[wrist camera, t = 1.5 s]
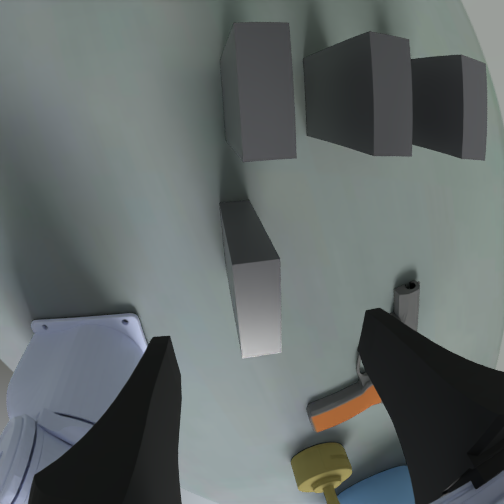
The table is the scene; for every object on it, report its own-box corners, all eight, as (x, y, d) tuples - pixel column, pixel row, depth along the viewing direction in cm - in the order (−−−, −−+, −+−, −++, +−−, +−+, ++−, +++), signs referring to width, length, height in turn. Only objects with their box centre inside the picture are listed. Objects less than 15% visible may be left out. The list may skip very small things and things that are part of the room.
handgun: (281, 326, 24) (414, 276, 24) (310, 424, 31) (405, 385, 31) (287, 340, 23) (425, 286, 23) (314, 436, 30) (412, 395, 30)
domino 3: (306, 135, 18) (373, 155, 11) (303, 58, 16) (369, 31, 9) (334, 135, 18) (411, 156, 11) (331, 60, 16) (409, 39, 9)
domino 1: (225, 140, 17) (243, 162, 10) (219, 60, 15) (233, 22, 8) (257, 138, 17) (296, 158, 10) (252, 58, 15) (288, 22, 8)
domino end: (376, 135, 18) (461, 158, 11) (374, 64, 16) (461, 54, 9) (398, 136, 19) (484, 160, 11) (397, 68, 16) (485, 63, 9)
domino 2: (226, 273, 21) (242, 358, 14) (219, 203, 19) (232, 265, 12) (253, 269, 21) (281, 352, 14) (249, 199, 19) (279, 258, 12)
